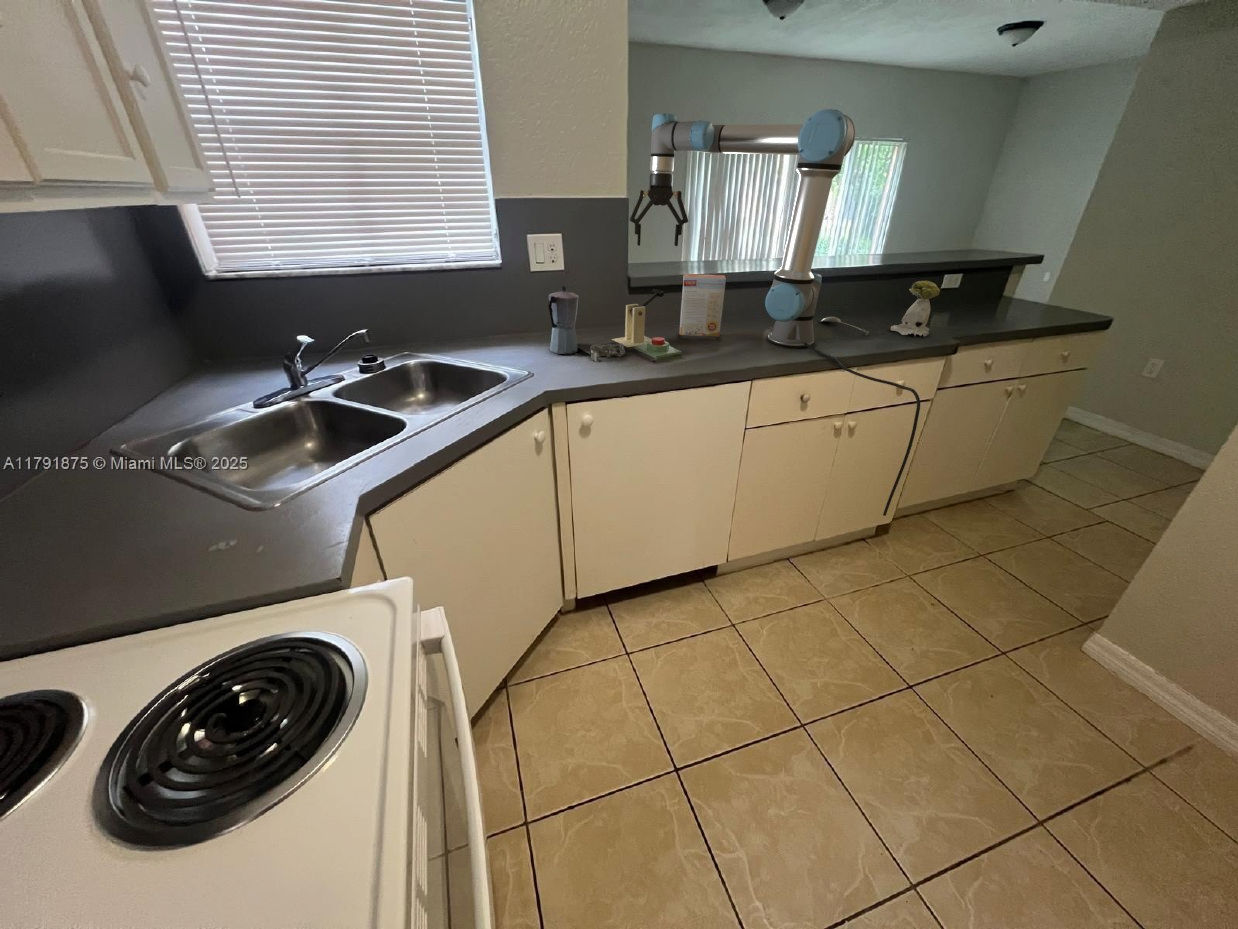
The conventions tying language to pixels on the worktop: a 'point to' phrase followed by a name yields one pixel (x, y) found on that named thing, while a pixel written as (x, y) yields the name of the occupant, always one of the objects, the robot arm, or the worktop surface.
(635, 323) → the bracket
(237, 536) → the worktop surface
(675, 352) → the button box
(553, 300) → the moka pot
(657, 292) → the toaster lever
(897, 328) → the grey and green figure
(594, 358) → the mottled toad figurine
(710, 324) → the cracker box
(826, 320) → the soupspoon
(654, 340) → the button
